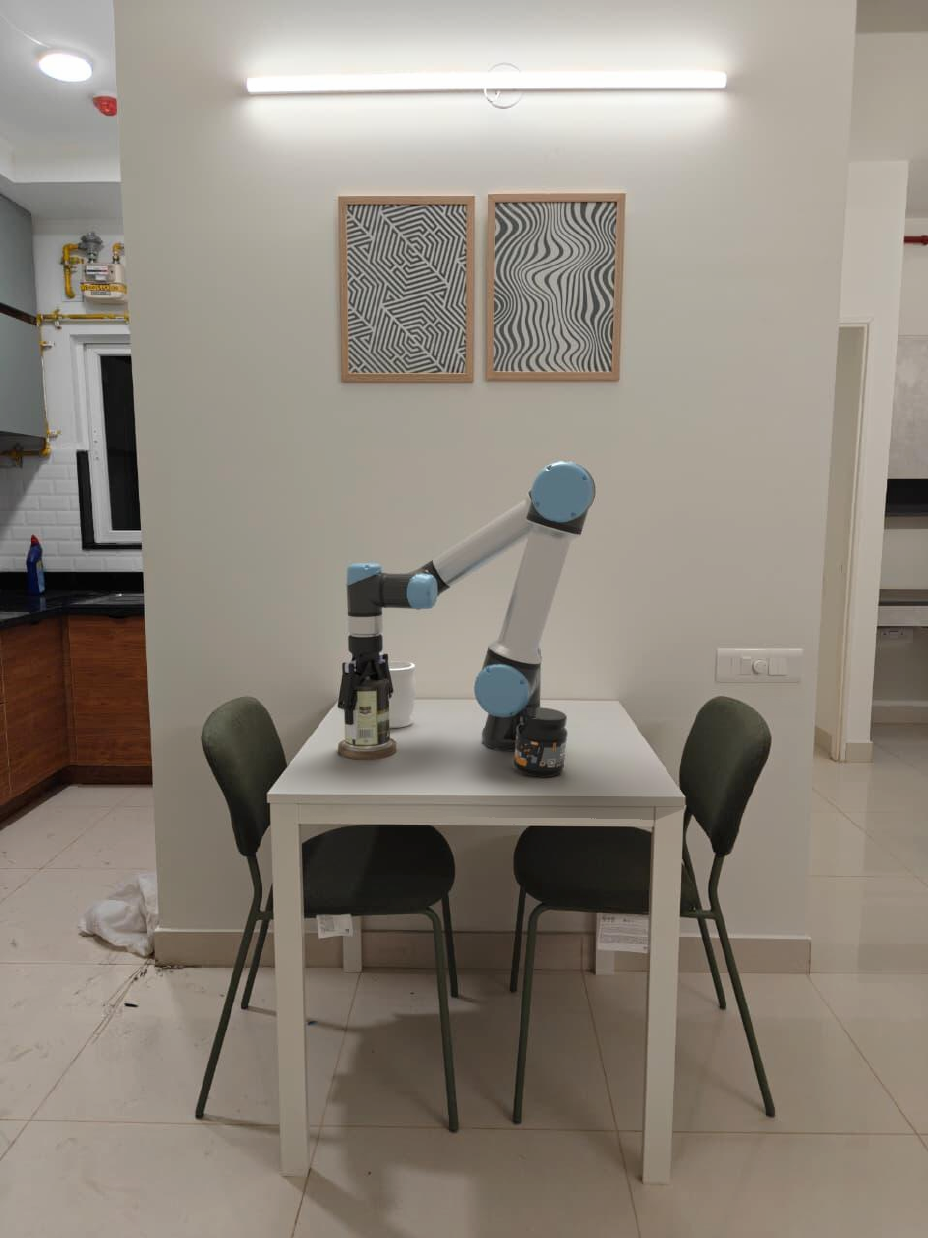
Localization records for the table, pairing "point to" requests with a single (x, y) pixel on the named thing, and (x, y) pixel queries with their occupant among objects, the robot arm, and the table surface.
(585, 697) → the table surface
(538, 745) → the supplement container
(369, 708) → the coffee can
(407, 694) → the jar
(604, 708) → the table surface
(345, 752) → the thin brown ring
